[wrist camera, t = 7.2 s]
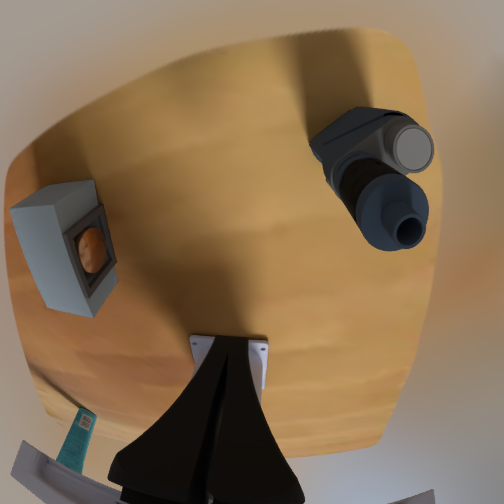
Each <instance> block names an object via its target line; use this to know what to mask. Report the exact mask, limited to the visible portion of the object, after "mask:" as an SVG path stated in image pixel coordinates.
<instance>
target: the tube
mask: <svg viewBox="0 0 504 504" xmlns="http://www.w3.org/2000/svg"><path fill="white" fill-rule="evenodd" d="M96 418H97V417H96V415H94V414H93V413H91V412H90V411H88V410H86V409H84V408H79V410H78V412H77V415H76V417H75V419H74V421H73V424H72V426H71V428H70V430H69V433H68V435H67V437H66V439H65V442H64V444H63V446H62V448H61V450H60V452H59V455H58V457H57V459H56V461H57V462H59V463H61V464H63V465H64V466H66V467H67V468H69V469H71V470H73V471H75V472H77V473H79V474H81V475H82V470H83V465H84V461H85V456H86V452H87V448H88V445H89V441H90V438H91V434H92V431H93V428H94V425H95V422H96Z"/></svg>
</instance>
